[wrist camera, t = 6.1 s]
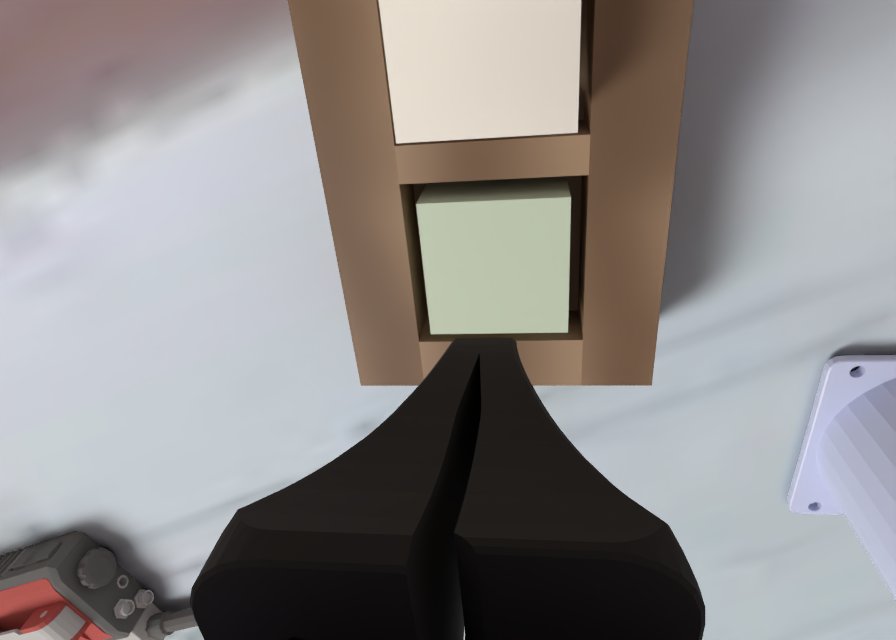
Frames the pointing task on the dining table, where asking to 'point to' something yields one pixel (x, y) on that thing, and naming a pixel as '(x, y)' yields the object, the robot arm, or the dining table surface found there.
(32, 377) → the dining table surface
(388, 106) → the wooden tray
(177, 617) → the walkie-talkie
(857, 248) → the dining table surface
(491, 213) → the key sage
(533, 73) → the key cream
